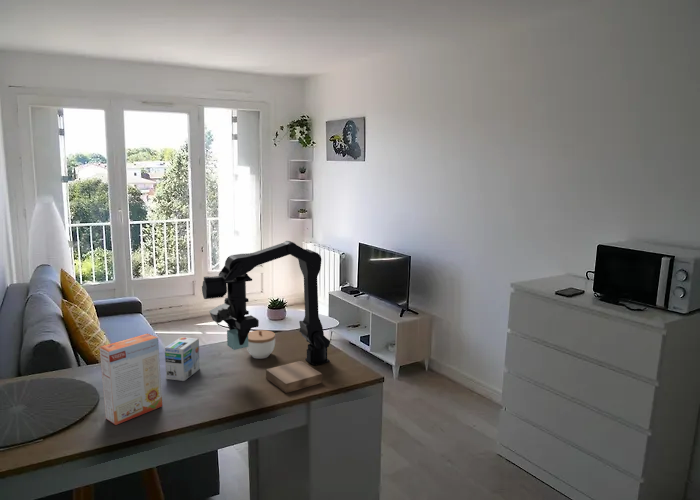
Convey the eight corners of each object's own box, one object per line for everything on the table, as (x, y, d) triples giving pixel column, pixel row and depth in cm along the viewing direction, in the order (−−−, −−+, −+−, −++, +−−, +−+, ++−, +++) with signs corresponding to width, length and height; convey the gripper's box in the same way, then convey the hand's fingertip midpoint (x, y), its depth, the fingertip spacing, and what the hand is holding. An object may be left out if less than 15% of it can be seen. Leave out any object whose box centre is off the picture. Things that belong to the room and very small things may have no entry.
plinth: (300, 369, 174) (300, 360, 174) (321, 382, 164) (321, 373, 163) (266, 378, 166) (265, 369, 166) (286, 393, 156) (286, 383, 156)
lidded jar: (251, 349, 191) (250, 325, 190) (279, 351, 190) (278, 326, 188) (241, 360, 181) (240, 334, 179) (270, 362, 180) (270, 336, 178)
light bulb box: (184, 381, 163) (183, 349, 161) (165, 379, 164) (163, 347, 162) (200, 368, 173) (199, 338, 171) (182, 366, 175) (181, 336, 173)
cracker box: (152, 400, 150) (148, 332, 146) (163, 407, 146) (159, 337, 143) (104, 418, 139) (98, 345, 136) (114, 426, 136) (109, 351, 132)
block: (241, 342, 169) (241, 327, 168) (248, 346, 165) (248, 331, 164) (227, 345, 166) (227, 330, 165) (233, 349, 162) (233, 334, 162)
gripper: (201, 292, 165) (202, 338, 168) (224, 306, 151) (226, 356, 154) (233, 287, 172) (234, 332, 175) (259, 300, 157) (259, 349, 160)
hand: (237, 342), depth 166 cm, fingers closed on block, 5 cm apart
